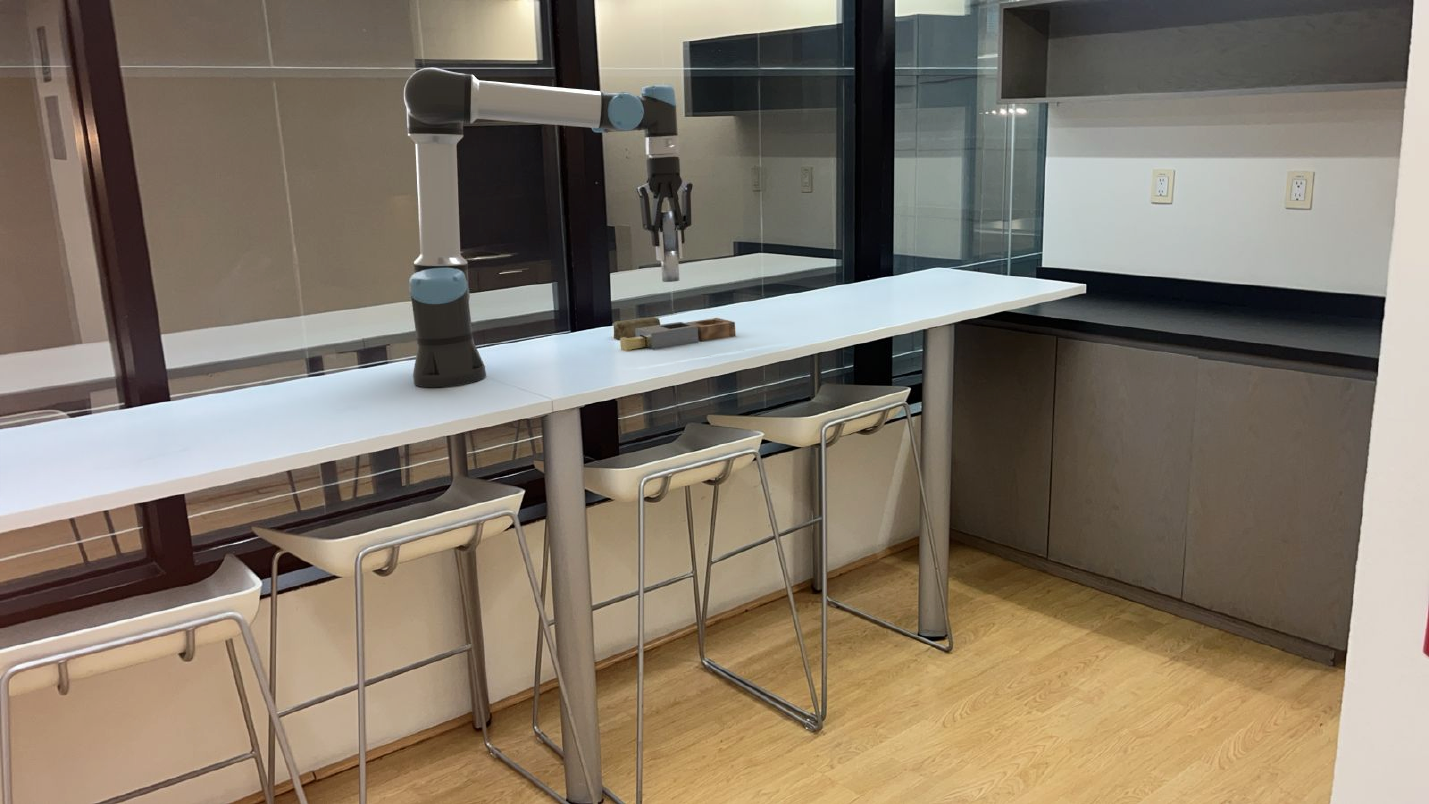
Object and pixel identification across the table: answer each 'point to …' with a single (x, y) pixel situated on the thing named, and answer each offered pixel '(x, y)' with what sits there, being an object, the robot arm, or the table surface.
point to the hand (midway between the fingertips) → (669, 259)
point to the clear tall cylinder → (669, 247)
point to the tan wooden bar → (633, 343)
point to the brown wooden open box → (714, 329)
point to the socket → (668, 335)
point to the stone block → (632, 326)
